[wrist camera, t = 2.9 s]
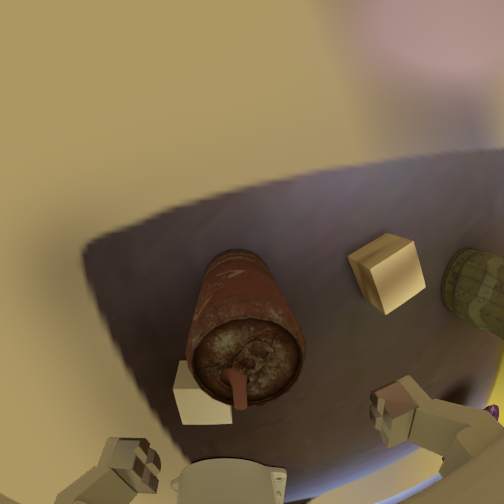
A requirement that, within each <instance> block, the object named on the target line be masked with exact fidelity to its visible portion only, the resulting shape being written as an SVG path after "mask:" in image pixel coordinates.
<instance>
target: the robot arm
mask: <svg viewBox="0 0 504 504" xmlns="http://www.w3.org/2000/svg"><path fill="white" fill-rule="evenodd" d="M370 400H371V401H372V404H371V405H370V407H369V413H370V418H371V421H372V423H373V425H374V427H375V429H378V430H380V431H381V434H380V437H381V439H382V441H383V443H384V444H385V446H386V448H387V449H388V448H391V447H393V446H395V445H397V444H400V443H402V442H404V441H406V440H408V441H410V442H412V443H414V444H416V445H419V446H421V447H423V448H425V449H427V450H430V451H432V452H434V453H437V454H439V455H441V456H443V457H446V458H445V460H444V462H443V463H442V465H441V467H440V470H439V473H440V474H441V476H442V477H443V479H441V480H440V481H438V482H437V483H435V484H433V485H431V486H430V487H428V488H426V489H424V490H423V491H421V492H419V493H417V494H415V495H413V496H411V497H409V498H407V499H405V500H403V501H401V502H399V503H397V504H504V427H503V426H502V425H501V424H500V423H499V422H498V421H497V420H496V419H495V418H494V417H493V416H492V415H491V414H490V413H489V412H488V411H486V410H482V409H477V408H472V407H468V406H463V405H459V404H455V403H451V402H447V401H443V400H439V399H433V400H431V399H430V397H429V396H428V395H427V394H426V393H425V392H424V391H423V390H422V389H421V387H420V386H419V385H418V384H417V383H416V382H415V381H414V380H413V379H412V378H411V376H408V375H407V376H405V377H403V378H401V379H399V380H396V381H394V382H392V383H389V384H387V385H385V386H382V387H380V388H378V389H375V390H373V391H371V393H370ZM149 446H150V443H149V442H148V441H147V439H145V438H117V437H114V438H113V437H110V438H109V439H107V442H106V444H105V447H104V449H103V452H102V455H101V457H100V460H99V463H98V465H97V467H93V468H92V469H91V470H89V471H88V472H86V473H85V474H84V475H83V476H81V477H80V478H79V479H77V480H76V481H75V482H73V483H72V484H71V485H69V486H68V487H67V488H66V489H64V490H63V491H61V492H60V493H59V494H58V495H57V497H56V501H55V503H54V504H129V503H130V502H131V501H132V500H133V498H134V497H135V496H136V495H137V493H152V494H156V493H157V487H158V482H159V481H158V479H157V477H156V475H157V474H158V473H159V472H160V469H161V462H160V458H159V456H158V454H157V453H156V451H155V450H153V449H151V448H150V447H149ZM286 478H287V471H286V469H284V468H277V467H267V466H264V465H262V464H259V463H256V462H253V461H248V460H242V459H231V458H220V459H209V460H203V461H199V462H196V463H193V464H191V465H189V466H187V467H186V468H185V469H184V470H183V471H182V473H181V475H180V477H178V478H176V479H174V480H173V481H171V488H172V489H174V490H175V491H177V504H283V501H284V494H285V486H286ZM0 504H20V503H18V502H16V501H14V500H12V499H10V498H8V497H6V496H5V495H3V494H1V493H0Z"/></svg>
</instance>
